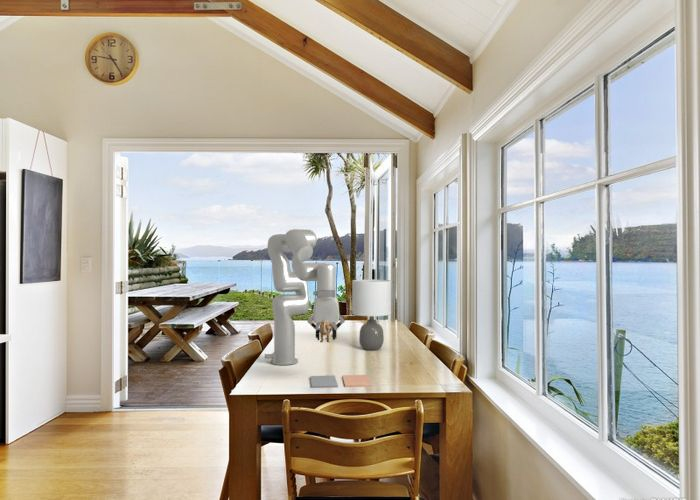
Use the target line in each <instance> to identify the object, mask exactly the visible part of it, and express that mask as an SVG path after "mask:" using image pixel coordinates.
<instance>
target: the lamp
mask: <svg viewBox="0 0 700 500" xmlns="http://www.w3.org/2000/svg"><path fill="white" fill-rule="evenodd" d="M351 287H352V290H351V291H352V296H351V299H352V301H351V303H352V304H351V306H352V309H351V314H352V315H354V316H361V317H369V318H368V319H367V320H366V323H363V324H362V325H361V326H360V328H359V338H358V341H359V345H360V347H361V348H362V349H364V350H365V351H378V350H380V349H381V348H382V347H383V345H384V337H385V336H384V335H385V334H384V329H383V326H382V325H380V323H377V320H376V319H375V317H384V316H385V317H386V316H391V315H392V280H389V279H353V280H352V286H351Z"/></svg>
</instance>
